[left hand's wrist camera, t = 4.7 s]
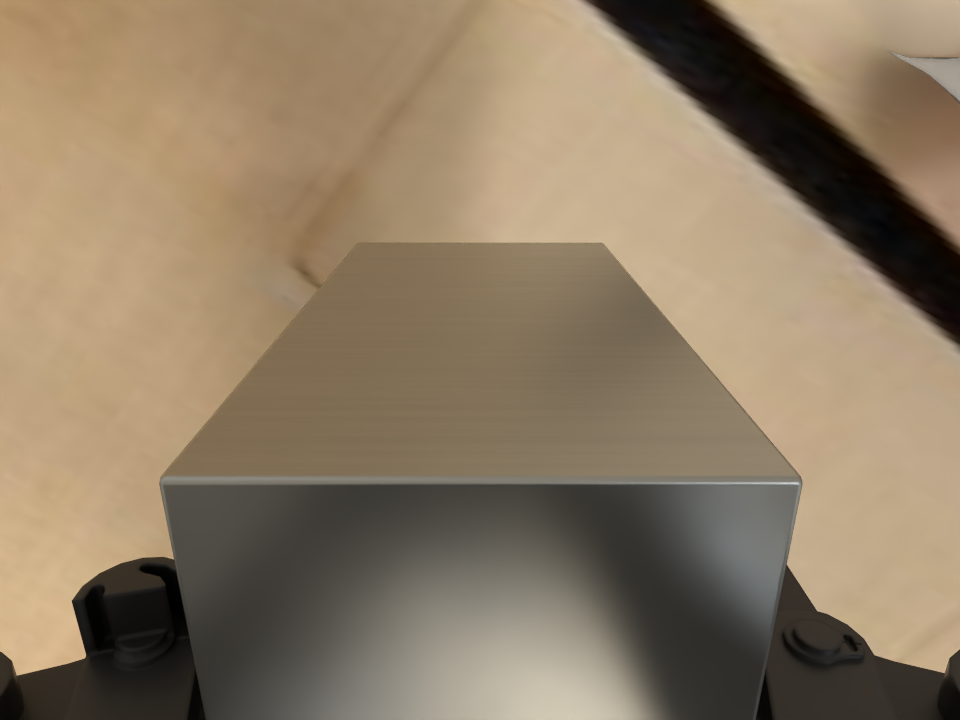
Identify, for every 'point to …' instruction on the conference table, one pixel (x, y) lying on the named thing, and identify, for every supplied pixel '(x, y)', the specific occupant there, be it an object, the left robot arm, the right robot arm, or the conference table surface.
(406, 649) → the bar
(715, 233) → the conference table surface
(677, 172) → the conference table surface
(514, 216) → the conference table surface
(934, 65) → the fish
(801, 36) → the conference table surface
